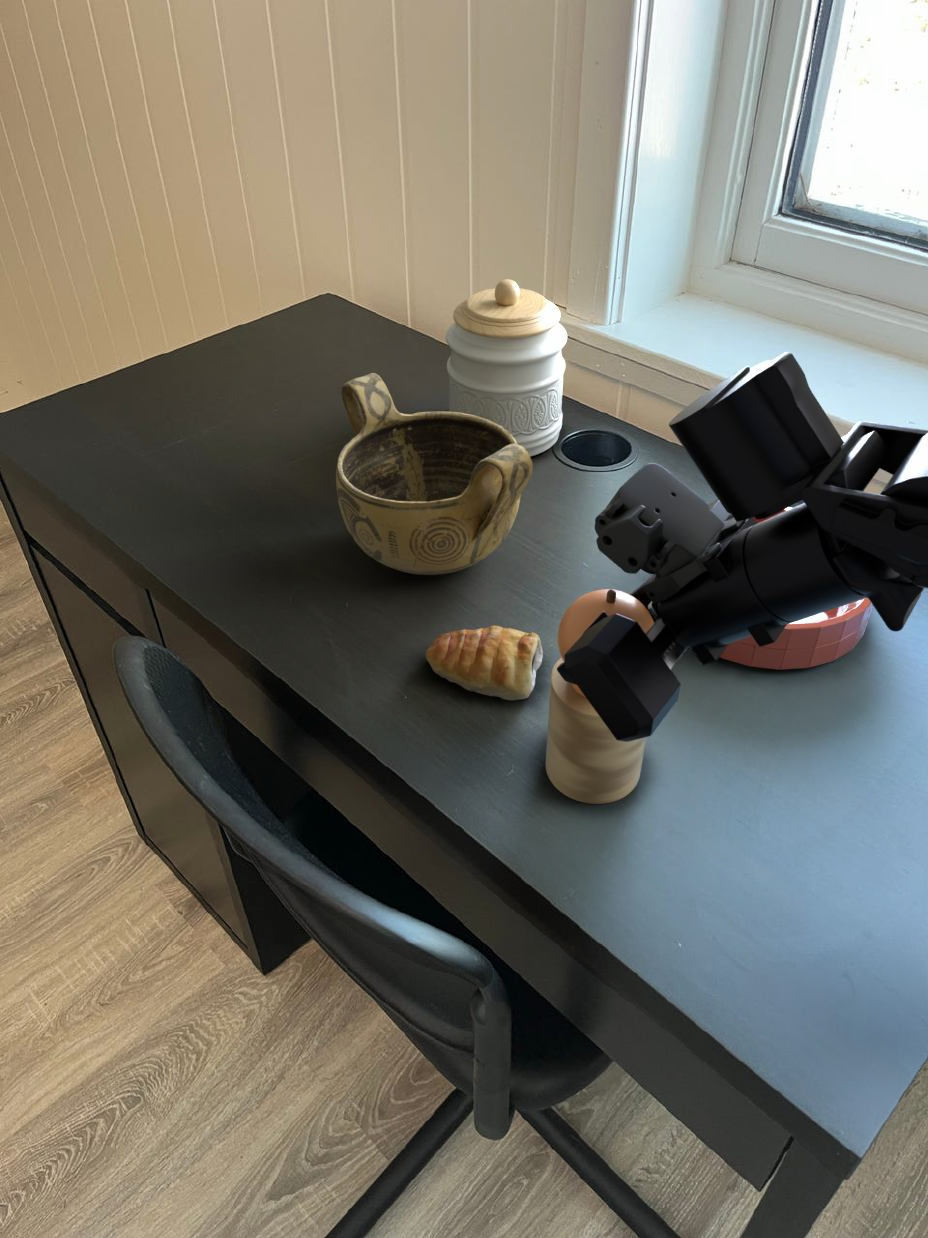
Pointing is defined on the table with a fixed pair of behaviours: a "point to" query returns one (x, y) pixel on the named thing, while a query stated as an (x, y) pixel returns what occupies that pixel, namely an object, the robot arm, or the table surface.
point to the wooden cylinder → (587, 749)
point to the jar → (509, 363)
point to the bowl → (806, 638)
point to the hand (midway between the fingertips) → (587, 645)
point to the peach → (591, 608)
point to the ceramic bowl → (426, 482)
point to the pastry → (488, 660)
